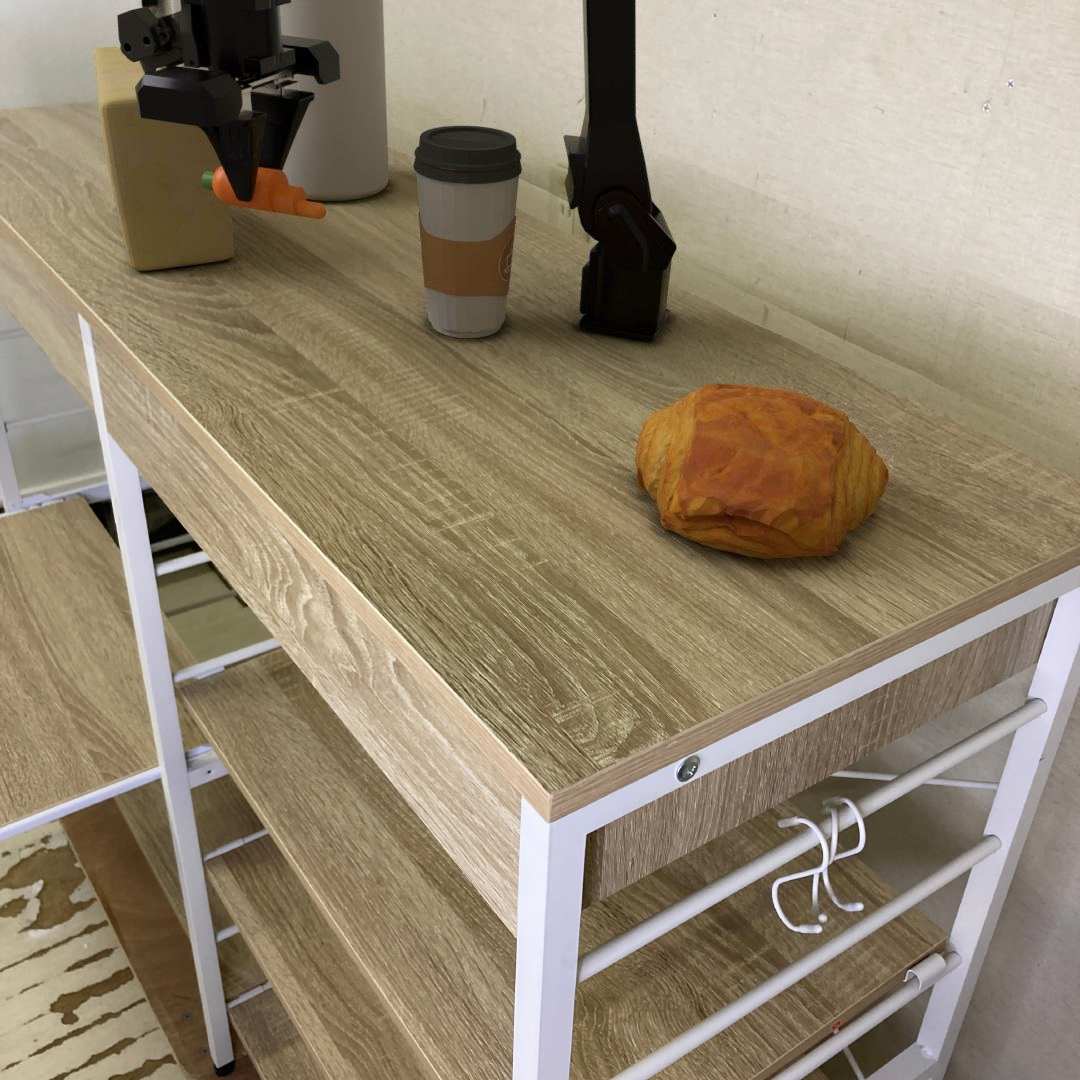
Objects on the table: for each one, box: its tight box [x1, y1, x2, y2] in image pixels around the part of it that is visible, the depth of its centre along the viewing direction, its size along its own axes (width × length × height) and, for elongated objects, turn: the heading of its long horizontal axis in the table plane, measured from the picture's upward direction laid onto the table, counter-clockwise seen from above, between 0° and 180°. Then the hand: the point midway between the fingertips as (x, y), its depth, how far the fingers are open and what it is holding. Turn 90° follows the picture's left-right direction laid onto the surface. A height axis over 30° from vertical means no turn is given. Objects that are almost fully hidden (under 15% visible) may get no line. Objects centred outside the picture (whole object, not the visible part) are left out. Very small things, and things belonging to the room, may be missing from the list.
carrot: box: [202, 166, 327, 220], centre depth 85 cm, size 10×3×3 cm, turn 71°
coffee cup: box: [412, 125, 523, 339], centre depth 87 cm, size 8×8×15 cm
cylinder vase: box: [280, 0, 390, 202], centre depth 114 cm, size 12×12×25 cm
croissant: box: [634, 383, 890, 560], centre depth 67 cm, size 14×16×8 cm
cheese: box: [93, 46, 235, 272], centre depth 102 cm, size 22×10×15 cm, turn 29°
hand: (256, 194), depth 85 cm, fingers closed on carrot, 3 cm apart
